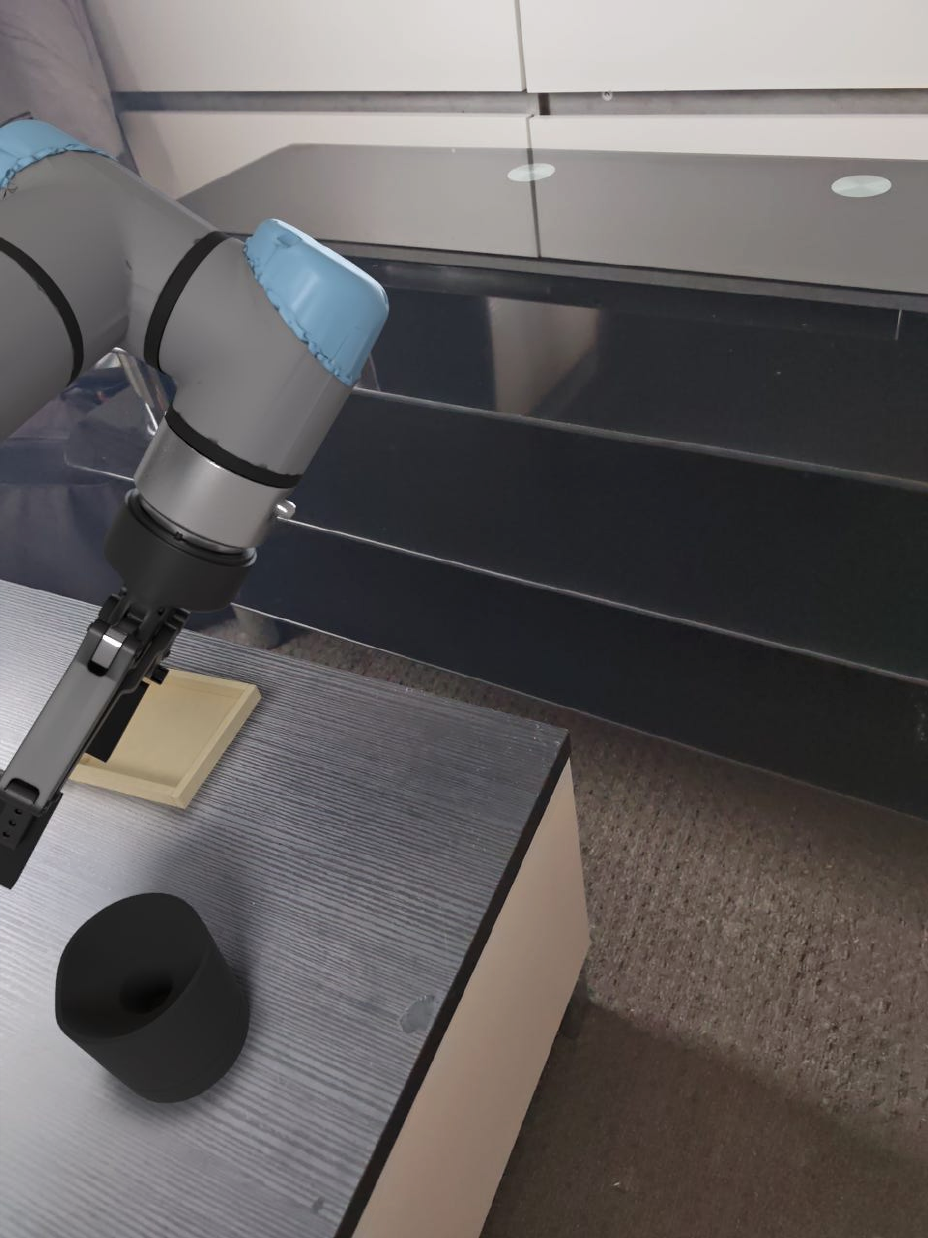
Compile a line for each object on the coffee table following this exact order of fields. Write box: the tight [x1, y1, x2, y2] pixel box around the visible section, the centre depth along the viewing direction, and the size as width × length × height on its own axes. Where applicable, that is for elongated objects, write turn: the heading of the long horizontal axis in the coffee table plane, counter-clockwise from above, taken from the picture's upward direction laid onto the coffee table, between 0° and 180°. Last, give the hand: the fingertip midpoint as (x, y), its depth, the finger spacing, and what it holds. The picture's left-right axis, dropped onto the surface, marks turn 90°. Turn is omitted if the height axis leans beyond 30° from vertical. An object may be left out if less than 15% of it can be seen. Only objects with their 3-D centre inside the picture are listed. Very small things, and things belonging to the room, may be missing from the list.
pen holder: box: [54, 892, 250, 1104], centre depth 57 cm, size 9×9×10 cm
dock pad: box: [68, 667, 263, 810], centre depth 81 cm, size 13×13×2 cm
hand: (45, 806), depth 56 cm, fingers open, 13 cm apart
